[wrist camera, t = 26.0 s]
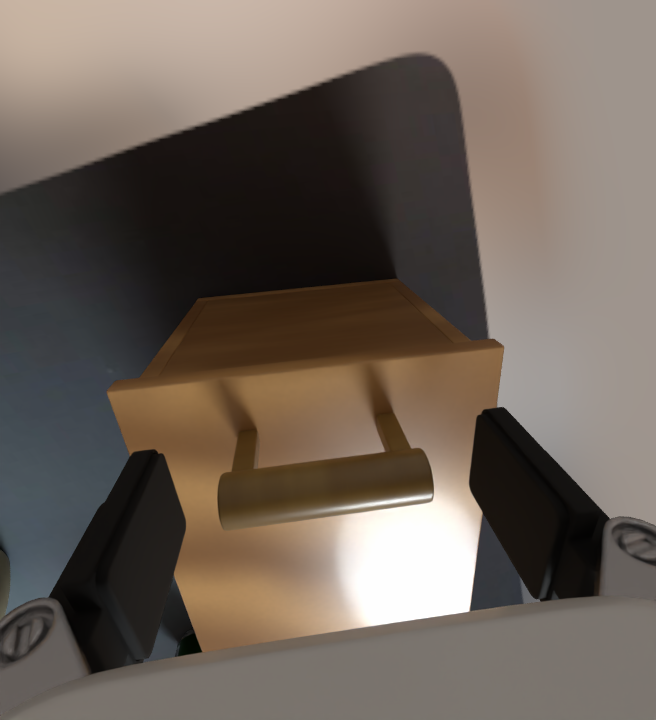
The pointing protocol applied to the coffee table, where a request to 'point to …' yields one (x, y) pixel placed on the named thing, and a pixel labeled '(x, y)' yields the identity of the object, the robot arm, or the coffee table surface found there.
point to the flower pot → (4, 583)
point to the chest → (300, 327)
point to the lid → (320, 487)
